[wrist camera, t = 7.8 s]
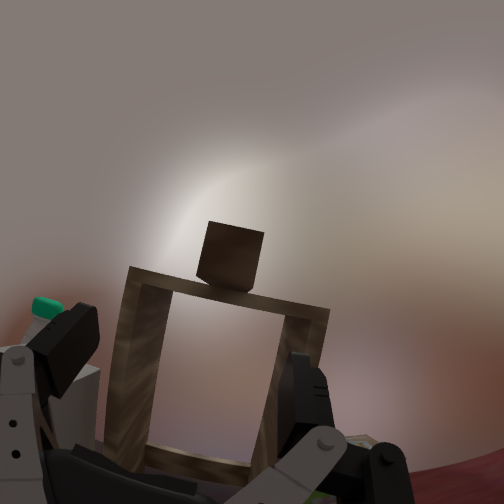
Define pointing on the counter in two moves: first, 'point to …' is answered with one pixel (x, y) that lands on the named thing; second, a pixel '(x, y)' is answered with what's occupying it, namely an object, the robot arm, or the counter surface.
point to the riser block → (76, 409)
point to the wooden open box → (146, 368)
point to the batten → (230, 256)
